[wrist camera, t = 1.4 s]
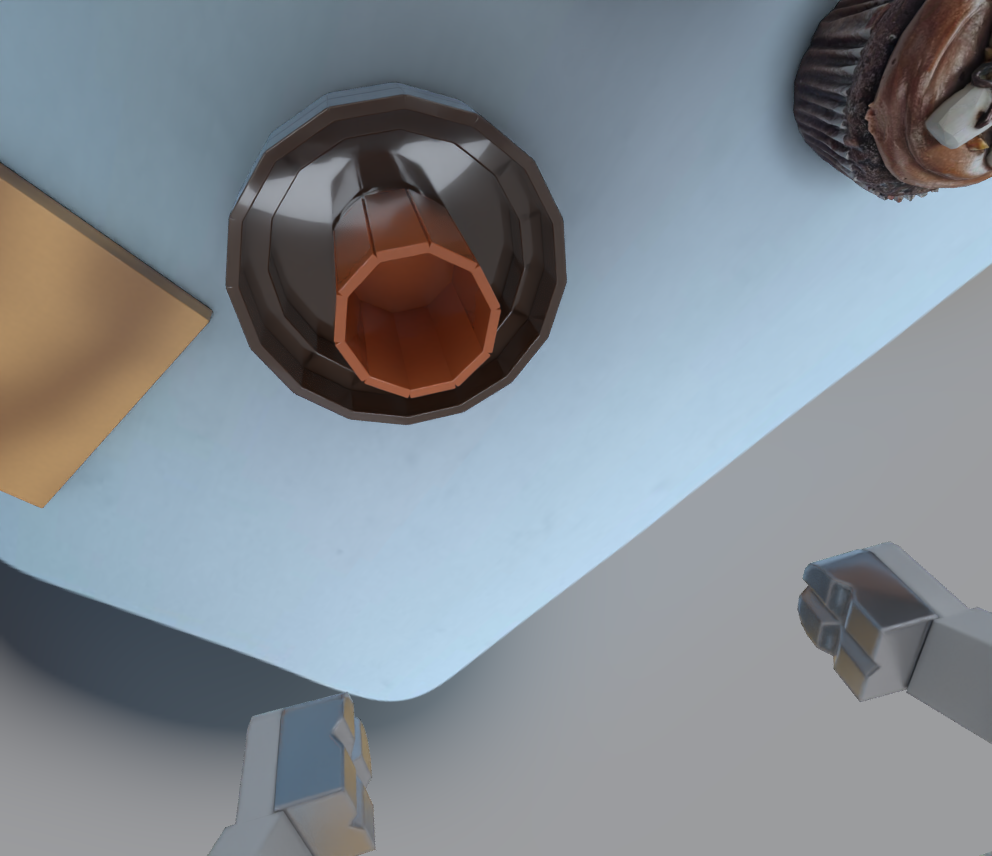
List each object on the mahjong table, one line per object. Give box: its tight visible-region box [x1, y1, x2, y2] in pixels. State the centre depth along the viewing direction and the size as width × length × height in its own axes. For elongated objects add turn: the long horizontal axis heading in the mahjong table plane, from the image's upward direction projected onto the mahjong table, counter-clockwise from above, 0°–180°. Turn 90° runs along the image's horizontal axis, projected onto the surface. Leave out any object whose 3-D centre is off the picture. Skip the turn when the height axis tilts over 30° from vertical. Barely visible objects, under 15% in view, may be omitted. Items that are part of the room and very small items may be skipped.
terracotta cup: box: [331, 188, 501, 398], centre depth 26 cm, size 6×6×8 cm
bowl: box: [226, 82, 567, 425], centre depth 28 cm, size 14×14×4 cm
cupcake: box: [793, 0, 992, 203], centre depth 26 cm, size 10×10×10 cm
